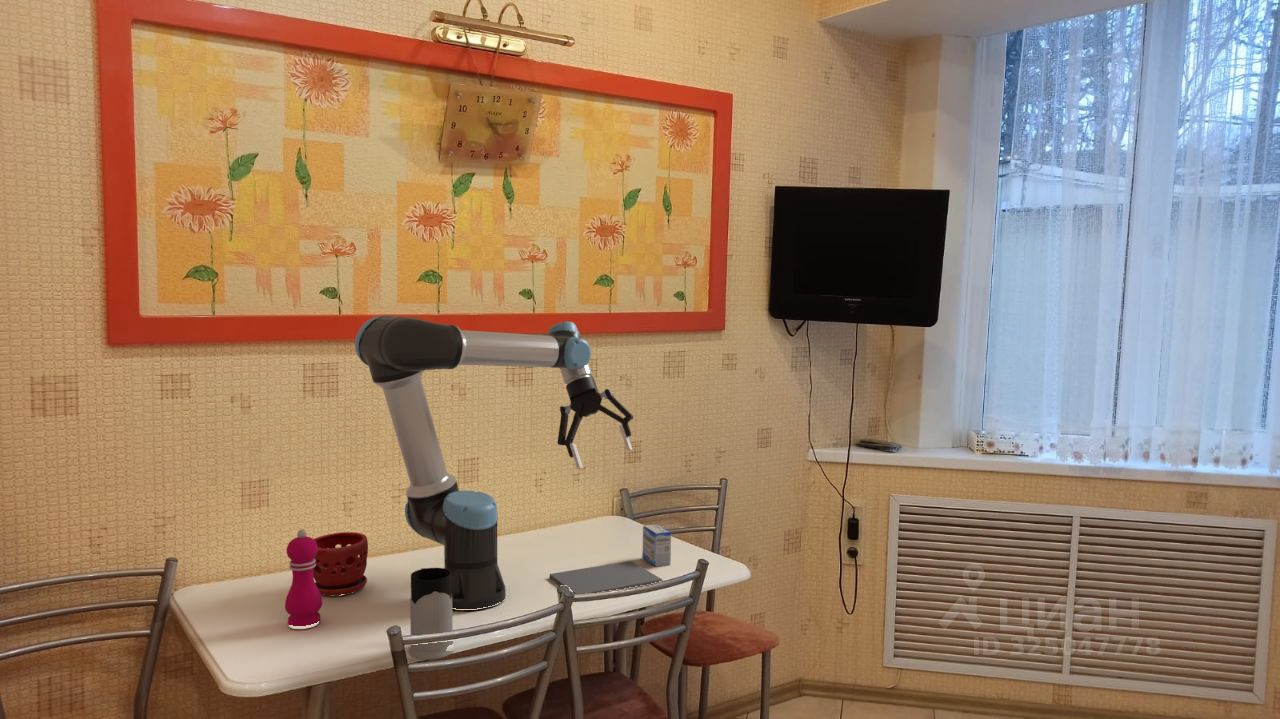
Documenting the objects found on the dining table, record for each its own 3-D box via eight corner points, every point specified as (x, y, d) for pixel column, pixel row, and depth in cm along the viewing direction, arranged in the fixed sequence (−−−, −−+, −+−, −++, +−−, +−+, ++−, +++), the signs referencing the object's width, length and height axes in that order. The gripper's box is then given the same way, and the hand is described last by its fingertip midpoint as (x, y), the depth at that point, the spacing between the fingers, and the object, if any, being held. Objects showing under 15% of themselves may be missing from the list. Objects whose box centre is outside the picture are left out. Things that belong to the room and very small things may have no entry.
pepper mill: (286, 633, 176) (283, 536, 175) (284, 621, 183) (282, 527, 181) (324, 628, 179) (321, 532, 177) (321, 615, 186) (319, 523, 184)
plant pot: (338, 577, 210) (337, 528, 209) (380, 585, 205) (379, 535, 204) (295, 594, 199) (294, 542, 198) (339, 604, 193) (337, 550, 192)
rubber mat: (577, 599, 197) (577, 594, 196) (549, 578, 211) (549, 574, 210) (662, 583, 207) (662, 579, 207) (630, 564, 221) (630, 560, 221)
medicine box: (641, 558, 226) (642, 525, 226) (657, 556, 228) (657, 523, 227) (655, 567, 219) (655, 533, 218) (671, 565, 221) (671, 531, 220)
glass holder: (412, 662, 163) (411, 584, 162) (400, 634, 176) (399, 561, 175) (459, 654, 167) (458, 577, 165) (444, 628, 180) (443, 556, 178)
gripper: (627, 365, 226) (654, 443, 221) (540, 399, 230) (564, 476, 225) (620, 361, 219) (647, 441, 214) (530, 396, 223) (555, 475, 218)
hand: (605, 459), depth 220 cm, fingers open, 13 cm apart
